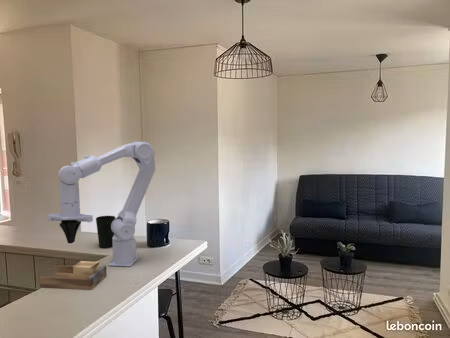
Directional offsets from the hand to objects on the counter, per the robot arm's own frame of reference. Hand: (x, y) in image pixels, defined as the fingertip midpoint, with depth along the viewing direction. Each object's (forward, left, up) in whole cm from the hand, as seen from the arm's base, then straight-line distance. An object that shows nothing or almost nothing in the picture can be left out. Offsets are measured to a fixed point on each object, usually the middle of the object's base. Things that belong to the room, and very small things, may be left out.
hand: (71, 242), depth 124 cm
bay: (+8, +5, -10) cm, 14 cm away
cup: (-28, 0, -10) cm, 30 cm away
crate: (+8, +9, -9) cm, 15 cm away
